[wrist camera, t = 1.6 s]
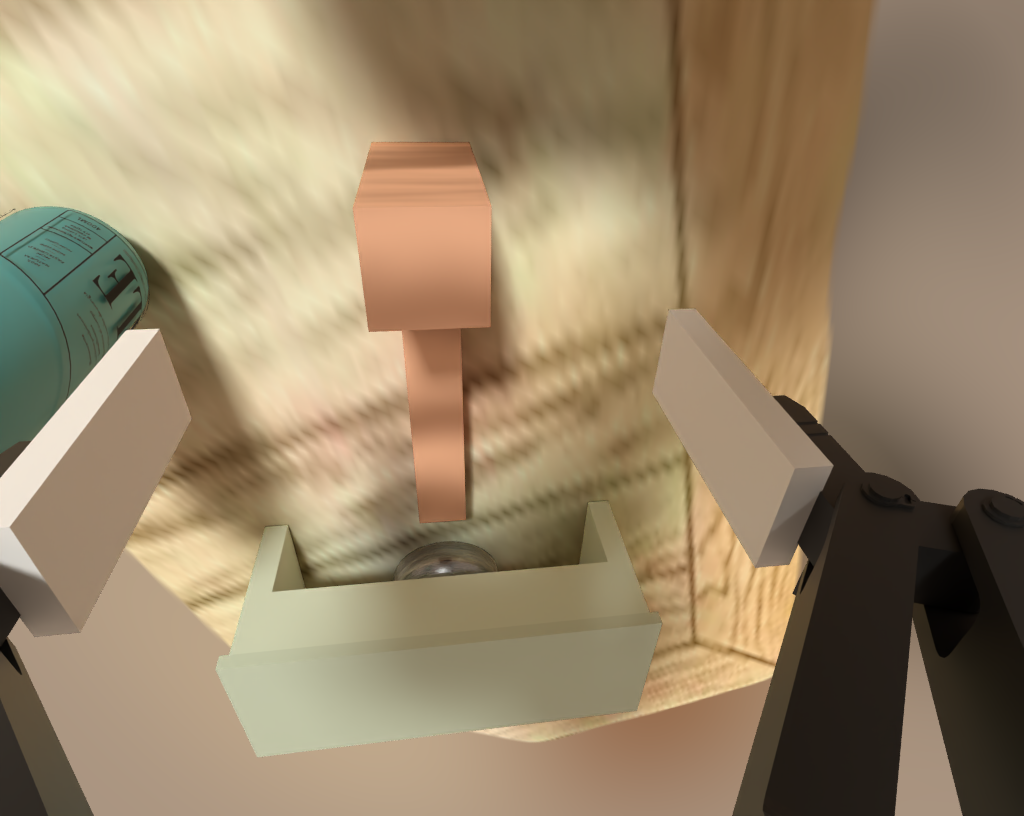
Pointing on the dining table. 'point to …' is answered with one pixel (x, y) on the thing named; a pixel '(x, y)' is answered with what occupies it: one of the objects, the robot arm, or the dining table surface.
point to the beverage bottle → (59, 309)
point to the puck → (444, 561)
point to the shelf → (437, 648)
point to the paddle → (427, 292)
